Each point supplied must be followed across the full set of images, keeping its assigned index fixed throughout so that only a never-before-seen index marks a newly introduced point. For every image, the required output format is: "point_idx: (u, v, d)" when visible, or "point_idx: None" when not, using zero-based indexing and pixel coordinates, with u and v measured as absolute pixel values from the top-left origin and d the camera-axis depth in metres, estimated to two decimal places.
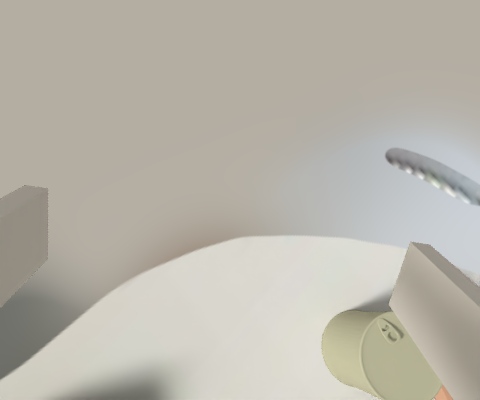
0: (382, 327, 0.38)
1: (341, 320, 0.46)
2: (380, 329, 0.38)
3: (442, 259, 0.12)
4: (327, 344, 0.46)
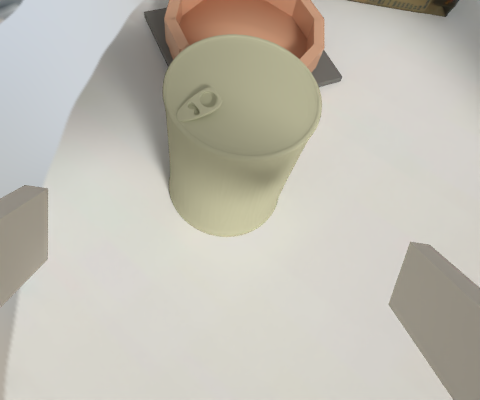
0: (192, 114, 0.20)
1: (183, 200, 0.27)
2: (196, 118, 0.20)
3: (442, 259, 0.12)
4: (220, 225, 0.28)
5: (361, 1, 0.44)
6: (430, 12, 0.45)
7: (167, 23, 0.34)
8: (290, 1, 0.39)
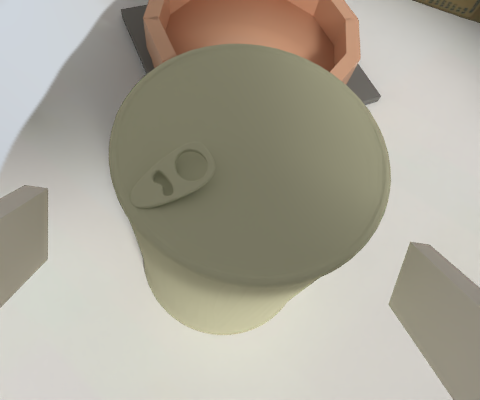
0: (160, 194, 0.11)
1: (159, 291, 0.18)
2: (168, 202, 0.11)
3: (442, 259, 0.12)
4: (216, 326, 0.18)
5: None
6: (478, 20, 0.35)
7: (147, 24, 0.25)
8: None
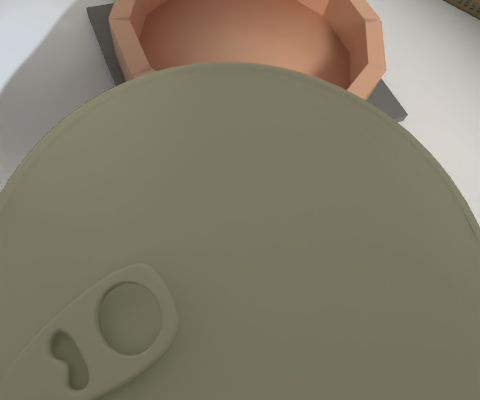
0: (62, 387, 0.05)
1: None
2: None
3: None
4: None
5: None
6: None
7: (113, 27, 0.19)
8: None
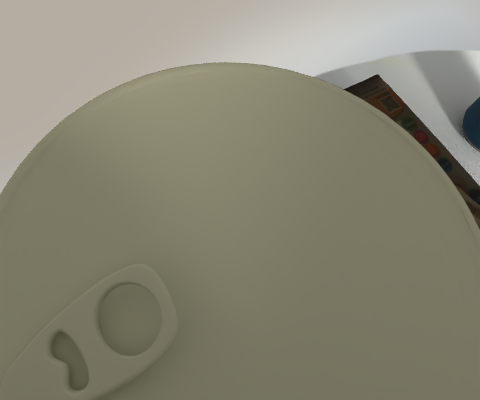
0: (62, 387, 0.05)
1: None
2: None
3: None
4: None
5: None
6: None
7: None
8: None
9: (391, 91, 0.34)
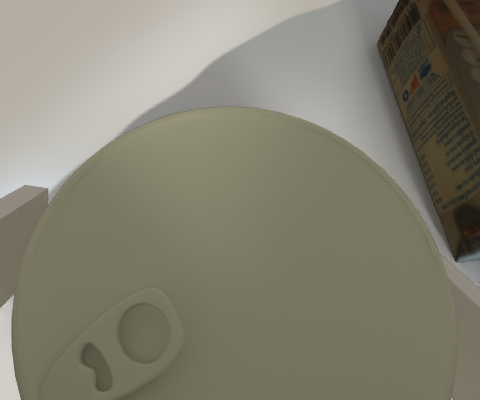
0: (90, 389, 0.06)
1: None
2: None
3: (442, 259, 0.12)
4: None
5: (403, 115, 0.27)
6: (446, 227, 0.24)
7: None
8: None
9: None
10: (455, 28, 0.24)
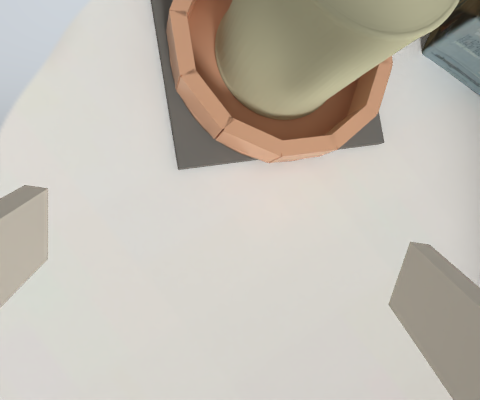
0: None
1: (235, 59, 0.22)
2: None
3: (442, 259, 0.12)
4: (267, 103, 0.24)
5: None
6: None
7: (172, 20, 0.22)
8: None
9: None
10: None
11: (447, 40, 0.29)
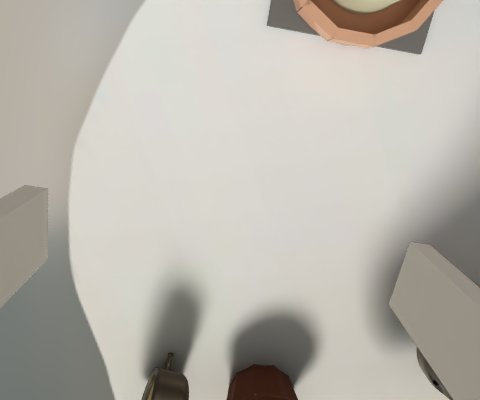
0: None
1: None
2: None
3: (442, 259, 0.12)
4: None
5: None
6: None
7: None
8: None
9: None
10: None
11: None
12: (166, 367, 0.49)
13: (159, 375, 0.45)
